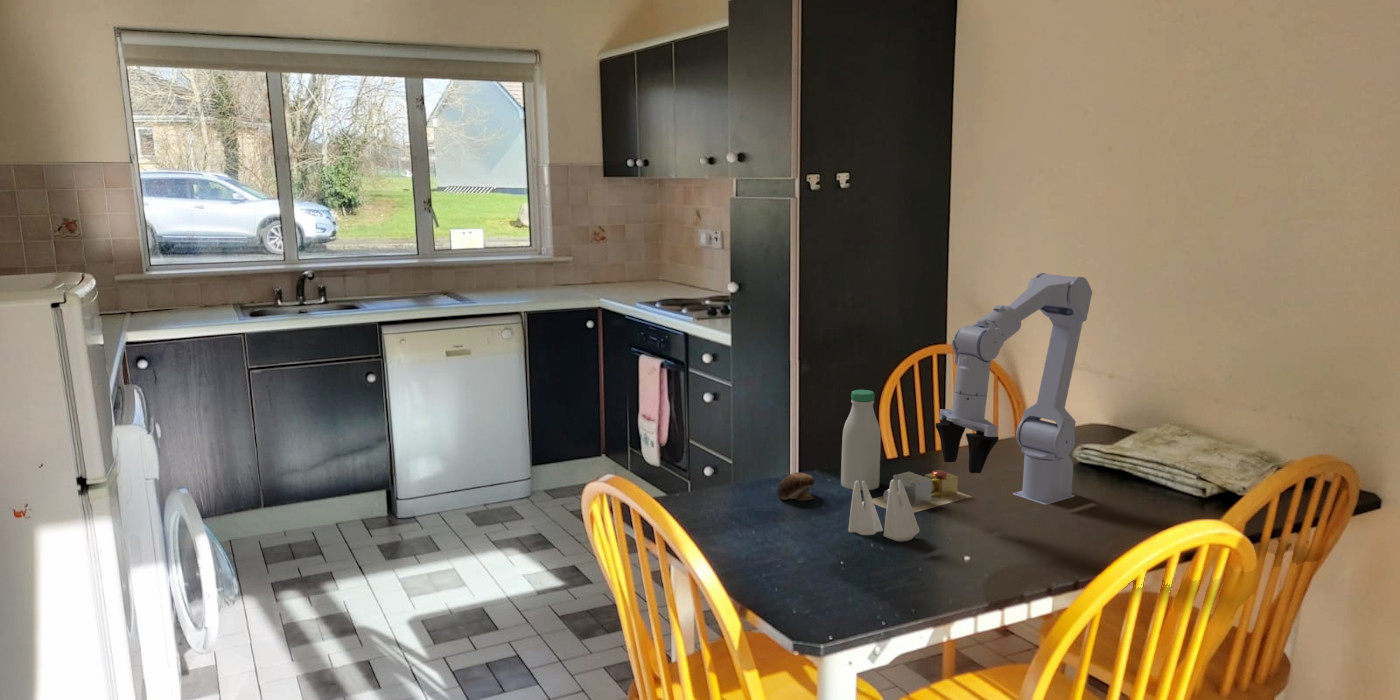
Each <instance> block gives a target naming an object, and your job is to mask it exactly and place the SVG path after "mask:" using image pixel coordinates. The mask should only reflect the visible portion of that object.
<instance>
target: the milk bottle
mask: <svg viewBox="0 0 1400 700" xmlns="http://www.w3.org/2000/svg"><path fill="white" fill-rule="evenodd" d="M850 399H851V401H850V402H851V408H850V411H849V414H848V416H847V418H846V420H845V423H844V426H843V429H842V440H841V441H842V442H841V443H842V444H841V462H840V463H841V467H840V485H841V486H842V487H844V488H846V489H848V490H852V491H853V488H854V483H855V481H857V480H858V481H859V485H860V491H863V488H862V481H865V483H866V485H867V487H868V489H869V491H873V490H876V489H878V488H879V487H880V475H881V474H880V472H881V471H880V469H881V468H880V467H881V439H882V438H881V436H882V435H881V434H882V433H881V427H880V424H879V422H878V419H877V416H876V413H875V410H874V403H875V392H874V391H872V390H868V389H855V390H852V391H851V395H850Z"/></svg>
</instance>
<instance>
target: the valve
mask: <svg viewBox="0 0 1400 700" xmlns="http://www.w3.org/2000/svg"><path fill="white" fill-rule="evenodd" d="M924 477H926V478H929V479H932V489H931V495H934V496H937V497H939V498H944V497H948V496H952V495H955V494H957V492H958V485H959V483H958V482H959V476H957V475H955V474H952V473H948V472H947V471H945V470H942V469H941V470H940V469H936V470H932V472H930V473H926V474H924Z"/></svg>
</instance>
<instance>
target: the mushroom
mask: <svg viewBox="0 0 1400 700" xmlns="http://www.w3.org/2000/svg"><path fill="white" fill-rule="evenodd" d="M815 483H816V480H815V478H814V477H813V475H810V474H808V473H805V472H793V473H791V474H789V475H787V476H786V477H784V478H783V479H782V480H781V481H780V483H779V484H778V486H777V496H778V498H779V499H780V500H782V501H783V500H784V501H785V500H789V499H791V500H792V499H793V500H796V501H798V502H800V501H801V502H803V501H812V500H814V496H813V495H812V494H811V493H810V492H809V489H810V488H811V487H813V486H814V484H815Z"/></svg>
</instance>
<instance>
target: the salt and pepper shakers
mask: <svg viewBox="0 0 1400 700" xmlns="http://www.w3.org/2000/svg"><path fill="white" fill-rule="evenodd" d="M898 487H899V492H897V489H896V483H895V480H893V479H891V480H890V482H889V488H888V489H889V493H888V501H887V508H886V510H885V517H884V529H883V526H882V523H881V520H880V516H879V514H878V512H877V509H876V506H875V504H874V503H873V500H872V499H873V498H872V495H871V492H870V490H869V489H868V487H867V485H866V483H865V481H862V488H863V490H860V485H859V481H858V480H857V481H855V483H854V488H853V490H852V497H851V501H850V502H851V503H850V512H849V513H850V514H849V520H848V521H849V522H848V533H856V534H858V535H861V536H873V535H875V534H876V533H879V532H883V537H885V538H887V539H889V540H893V541H895V542H907V541H911V540H912V539H913V538H915V536H916V535H917V534H919V532H920V527H919V524H918V522H917V521H918V520H917V519H916V517H915V513H913V510H912V507H911V504H910V501H909V499H908V496H907V493H906V490H905V488H904V485H903V483H902V481H901V480H898ZM861 491H862V492H861ZM862 495H863V499H862Z"/></svg>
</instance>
